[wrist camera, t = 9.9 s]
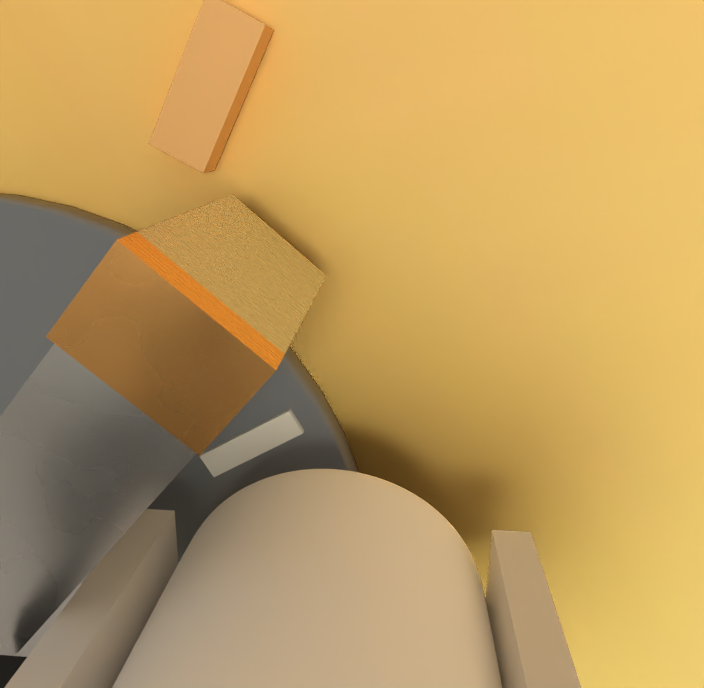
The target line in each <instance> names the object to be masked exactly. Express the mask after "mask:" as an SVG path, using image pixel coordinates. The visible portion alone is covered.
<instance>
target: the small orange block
mask: <svg viewBox="0 0 704 688" xmlns="http://www.w3.org/2000/svg"><path fill="white" fill-rule="evenodd" d="M273 31H274V30H272V29H271V28H269V27H268V26H267V25H265V24H263V23H262V22H260V21H258V20H256V19H254V18H253V17H251V16H249V15H247V14H245V13H244V12H242V11H240V10H238V9H236V8H235V7H233V6H231V5H229V4H227V3H225V2H224V1H222V0H204V1H203V3H202V6H201V8H200V11H199V14H198V16H197V19H196V22H195V24H194V27H193V29H192V32H191V35H190V37H189V40H188V42H187V45H186V48H185V50H184V53H183V55H182V58H181V61H180V63H179V66H178V69H177V71H176V74H175V76H174V79H173V82H172V84H171V87H170V89H169V92H168V95H167V97H166V100H165V102H164V105H163V108H162V110H161V113H160V115H159V118H158V121H157V123H156V126H155V129H154V131H153V134H152V136H151V139H150V142H149V145H151V146H153V147H155V148H157V149H159V150H161V151H163V152H165V153H166V154H168V155H170V156H172V157H174V158H176V159H178V160H180V161H182V162H184V163H185V164H187V165H189V166H191V167H193V168H195V169H197V170H199V171H201V172H203V173H205V172H209V171H214V170H215V168H216V166H217V163H218V161H219V159H220V156H221V154H222V151H223V149H224V147H225V144H226V142H227V140H228V137H229V135H230V133H231V130H232V128H233V125H234V123H235V121H236V118H237V116H238V114H239V111H240V109H241V107H242V104H243V102H244V100H245V97H246V95H247V92H248V90H249V88H250V85H251V83H252V81H253V78H254V76H255V74H256V71H257V69H258V67H259V64H260V62H261V59H262V57H263V55H264V52H265V50H266V48H267V45H268V43H269V41H270V38H271V36H272V33H273Z"/></svg>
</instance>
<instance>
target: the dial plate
mask: <svg viewBox="0 0 704 688" xmlns="http://www.w3.org/2000/svg"><path fill="white" fill-rule="evenodd" d="M135 232H137V231H135V230H133V229H131V228H129V227H127V226H125V225H123V224H120V223H117V222H114V221H112V220H109V219H106V218H103V217H100V216H97V215H95V214H92V213H89V212H86V211H83V210H81V209H78V208H75V207H72V206H67V205H63V204H58V203H53V202H49V201H44V200H40V199H35V198H30V197H26V196H21V195H11V194H0V416H1V415H2V413H3V412H4V411H5V409H6V408H7V407H8V405H9V404H10V403H11V401H12V400H13V398H14V397H15V396H16V394H17V393H18V392H19V390H20V389H21V388H22V386H23V385H24V384H25V382H26V381H27V380H28V378H29V377H30V375H31V374H32V373H33V371H34V370H35V369H36V367H37V366H38V365H39V363H40V362H41V361H42V359H43V358H44V357H45V355H46V354H47V353H48V351H49V350H50V348H51V347H52V346H53V344H54V343H53V342H52V341H51V340H49V339H48V338H47V337H46V336H47V334H48V333H49V331H50V330H51V329H52V327H53V326H54V325H55V323H56V322H57V321H58V319H59V318H60V316H61V315H62V314H63V312H64V311H65V310H66V308H67V307H68V305H69V304H70V303H71V301H72V300H73V299H74V297H75V296H76V295H77V293H78V292H79V290H80V289H81V288H82V286H83V285H84V284H85V282H86V281H87V280H88V278H89V277H90V275H91V274H92V273H93V271H94V270H95V269H96V267H97V266H98V264H99V263H100V262H101V260H102V259H103V258H104V256H105V255H106V254H107V252H108V251H109V249H110V248H111V247H112V245H113V244H114V243H115V241H116V240H117V239H120V238H122V237H125V236H127V235H130V234H132V233H135ZM306 469H338V470H347V471H353V472H358V469H357V466H356V464H355V461H354V458H353V456H352V453H351V450H350V447H349V445H348V442H347V439H346V437H345V434H344V432H343V430H342V428H341V426H340V424H339V423H338V421H337V419H336V417H335V415H334V413H333V411H332V409H331V407H330V406H329V404H328V402H327V400H326V398H325V396H324V394H323V392H322V391H321V390H320V388H319V387H318V385H317V384H316V383H315V381H314V380H313V378H312V377H311V376H310V374H309V373H308V371H307V370H306V368H305V367H304V366H303V364H302V363H301V361H300V360H299V359H298V357H297V356H296V354H295V353H294V352H293V351H292V349H291V348H290V347H288V349H287V351H286V353H285V355H284V357H283V359H282V360H281V362H280V364H279V366H278V368H277V370H276V371H275V372H274V373H273V375H272V376H271V377H270V378H269V379H268V380H267V381H266V382H265V383H264V385H263V386H262V387H261V388H260V389H259V390H258V391H257V392H256V394H255V395H254V396H253V397H252V398H251V399H250V400H249V401H248V402H247V404H246V405H245V406H244V407H243V408H242V409H241V410H240V411H239V412H238V414H237V415H236V416H235V417H234V418H233V419H232V420H231V421H230V422H229V424H228V425H227V426H226V427H225V428H224V429H223V430H222V431H221V432H220V434H219V435H218V436H217V437H216V438H215V439H214V440H213V441H212V443H211V444H210V445H209V446H208V447H207V448H206V449H205V450H204V451H203V453H202V454H201V455H200V456H199V455H198V454H195V455H194V456H193V457H192V459H191V460H190V461H189V462H188V463H187V464H186V465H185V466H184V467H183V469H182V470H181V471H180V472H179V473H178V474H177V475H176V476H175V478H174V479H173V480H172V481H171V482H170V483H169V484H168V485H167V487H166V488H165V489H164V490H163V491H162V492H161V493H160V494H159V495H158V497H157V498H156V499H155V500H154V501H153V502H152V503H151V504H150V506H149V507H148V508H147V509H156V510H173V511H175V523H176V538H177V552H178V563H179V561H180V560H181V558H182V556H183V554H184V552H185V551H186V549H187V547H188V545H189V544H190V542H191V540H192V538H193V537H194V535H195V534H196V532H197V531H198V529H199V528H200V526H201V525H202V524H203V522H204V521H205V520H206V518H207V517H208V516H209V515H210V514H211V513H212V512H213V511H214V510H215V509H216V508H217V507H218V506H219V505H220V504H221V503H222V502H224V501H225V500H226V499H228V498H229V497H230V496H232V495H233V494H235V493H236V492H238V491H239V490H241V489H243V488H245V487H247V486H249V485H251V484H253V483H255V482H257V481H260V480H262V479H265V478H268V477H271V476H274V475H278V474H282V473H286V472H291V471H297V470H306Z"/></svg>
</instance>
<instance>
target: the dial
mask: <svg viewBox="0 0 704 688" xmlns="http://www.w3.org/2000/svg"><path fill="white" fill-rule="evenodd" d="M326 276H327V275H325V274H324V273H323V272H322V271H321V270H320V269H318V268H317V267H316V266H315V265H314V264H313V263H311V262H310V261H309V260H308V259H307V258H306V257H304V256H303V255H302V254H301V253H300V252H299V251H298V250H296V249H295V248H294V247H293V246H292V245H291V244H289V243H288V242H287V241H286V240H285V239H284V238H282V237H281V236H280V235H279V234H278V233H277V232H275V231H274V230H273V229H272V228H271V227H270V226H269V225H267V224H266V223H265V222H264V221H263V220H262V219H260V218H259V217H258V216H257V215H256V214H255V213H253V212H252V211H251V210H250V209H249V208H248V207H246V206H245V205H244V204H243V203H242V202H241V201H240V200H238V199H237V198H236V197H235V196H234V195H233V194H232V195H229V196H227V197H224V198H222V199H219V200H217V201H214V202H211V203H209V204H206V205H204V206H201V207H199V208H196V209H194V210H191V211H189V212H186V213H183V214H181V215H178V216H176V217H173V218H171V219H168V220H166V221H163V222H160V223H158V224H155V225H153V226H150V227H148V228H145V229H143V230H140V231H138V232H135V233H132V234H130V235H127V236H125V237H122V238H120V239H117V240H116V241H115V243H114V244H113V245H112V247H111V248H110V249H109V251H108V252H107V254H106V255H105V256H104V258H103V259H102V260H101V262H100V263H99V264H98V266H97V267H96V269H95V270H94V271H93V273H92V274H91V275H90V277H89V278H88V280H87V281H86V282H85V284H84V285H83V286H82V288H81V289H80V290H79V292H78V293H77V295H76V296H75V297H74V299H73V300H72V301H71V303H70V304H69V305H68V307H67V308H66V310H65V311H64V312H63V314H62V315H61V316H60V318H59V319H58V321H57V322H56V323H55V325H54V326H53V327H52V329H51V330H50V331H49V333H48V334H47V336H46V337H47V338H48V339H49V340H51V341H52V342H53V343H54V344H53V346H52V347H51V348H50V350H49V351H48V353H47V354H46V355H45V357H44V358H43V359H42V361H41V362H40V363H39V365H38V366H37V367H36V369H35V370H34V371H33V373H32V374H31V375H30V377H29V378H28V380H27V381H26V382H25V384H24V385H23V386H22V388H21V389H20V390H19V392H18V393H17V394H16V396H15V397H14V398H13V400H12V401H11V403H10V404H9V405H8V407H7V408H6V409H5V411H4V412H3V413H2V415H1V416H0V655H9V656H22V657H28V655H29V654H30V653H31V651H32V650H33V649H34V647H35V646H36V645H37V643H38V642H39V641H40V639H41V638H42V637H43V635H44V634H45V633H46V631H47V630H48V629H49V627H50V626H51V625H52V623H53V622H54V621H55V619H56V618H57V617H58V615H59V614H60V613H61V611H62V610H63V609H64V607H65V606H66V605H67V603H68V602H69V601H70V599H71V598H72V597H73V595H74V594H75V593H76V591H77V590H78V589H79V587H80V586H81V585H82V583H83V582H84V581H85V579H86V578H87V577H88V575H89V574H90V573H91V571H92V570H93V569H94V567H95V566H96V565H97V564H98V563H99V561H100V560H101V559H102V558H103V557H104V556H105V555H106V554H107V553H108V551H109V550H110V549H111V548H112V547H113V546H114V545H115V544H116V542H117V541H118V540H119V539H120V538H121V537H122V536H123V535H124V533H125V532H126V531H127V530H128V529H129V528H130V527H131V526H132V525H133V523H134V522H135V521H136V520H137V519H138V518H139V517H140V516H141V514H142V513H143V512H144V511H145V510H146V509H147V508H148V507H149V506H150V504H151V503H152V502H153V501H154V500H155V499H156V498H157V497H158V495H159V494H160V493H161V492H162V491H163V490H164V489H165V488H166V487H167V485H168V484H169V483H170V482H171V481H172V480H173V479H174V478H175V476H176V475H177V474H178V473H179V472H180V471H181V470H182V469H183V467H184V466H185V465H186V464H187V463H188V462H189V461H190V460H191V459H192V457H193V456H194V455H195V454H198V455H199V456H200V455H201V454H202V453H203V451H204V450H205V449H206V448H207V447H208V446H209V445H210V444H211V443H212V441H213V440H214V439H215V438H216V437H217V436H218V435H219V434H220V432H221V431H222V430H223V429H224V428H225V427H226V426H227V425H228V424H229V422H230V421H231V420H232V419H233V418H234V417H235V416H236V415H237V414H238V412H239V411H240V410H241V409H242V408H243V407H244V406H245V405H246V404H247V402H248V401H249V400H250V399H251V398H252V397H253V396H254V395H255V394H256V392H257V391H258V390H259V389H260V388H261V387H262V386H263V385H264V383H265V382H266V381H267V380H268V379H269V378H270V377H271V376H272V375H273V373H274V372H275V371H276V370H277V368H278V366H279V364H280V362H281V360H282V359H283V357H284V355H285V353H286V351H287V349H288V347H289V345H290V344H291V342H292V340H293V338H294V336H295V334H296V332H297V330H298V328H299V327H300V325H301V323H302V321H303V319H304V317H305V315H306V313H307V312H308V310H309V308H310V306H311V304H312V302H313V300H314V298H315V296H316V295H317V293H318V291H319V289H320V287H321V285H322V283H323V281H324V280H325V278H326Z"/></svg>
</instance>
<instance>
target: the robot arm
mask: <svg viewBox="0 0 704 688" xmlns="http://www.w3.org/2000/svg"><path fill="white" fill-rule="evenodd" d="M177 565H178V552H177V538H176V523H175V511H173V510H156V509H146V510H145V511H144V512H143V513H142V514H141V516H140V517H139V518H138V519H137V520H136V521H135V522H134V523H133V525H132V526H131V527H130V528H129V529H128V530H127V531H126V532H125V533H124V535H123V536H122V537H121V538H120V539H119V540H118V541H117V542H116V544H115V545H114V546H113V547H112V548H111V549H110V550H109V551H108V553H107V554H106V555H105V556H104V557H103V558H102V559H101V560H100V561H99V563H98V564H97V565H96V566H95V567H94V569H93V570H92V571H91V573H90V574H89V575H88V577H87V578H86V579H85V581H84V582H83V583H82V585H81V586H80V587H79V589H78V590H77V591H76V593H75V594H74V595H73V597H72V598H71V599H70V601H69V602H68V603H67V605H66V606H65V607H64V609H63V610H62V611H61V613H60V614H59V615H58V617H57V618H56V619H55V621H54V622H53V623H52V625H51V626H50V627H49V629H48V630H47V631H46V633H45V634H44V635H43V637H42V638H41V639H40V641H39V642H38V643H37V645H36V646H35V647H34V649H33V650H32V651H31V653H30V654H29V655H28V657H22V656H9V655H0V688H112V687H113V685H114V683H115V681H116V679H117V677H118V675H119V674H120V672H121V670H122V668H123V666H124V664H125V662H126V660H127V659H128V657H129V655H130V653H131V651H132V649H133V647H134V645H135V643H136V642H137V640H138V638H139V636H140V634H141V632H142V630H143V628H144V627H145V625H146V623H147V621H148V619H149V617H150V615H151V613H152V612H153V610H154V608H155V606H156V604H157V602H158V600H159V598H160V597H161V595H162V593H163V591H164V589H165V587H166V585H167V584H168V582H169V580H170V578H171V576H172V574H173V573H174V571H175V569H176V567H177ZM486 605H487V610H488V615H489V620H490V625H491V630H492V635H493V640H494V645H495V650H496V656H497V661H498V666H499V671H500V676H501V682H502V687H503V688H581V685H580V682H579V679H578V676H577V673H576V670H575V667H574V664H573V661H572V658H571V654H570V651H569V648H568V645H567V642H566V639H565V636H564V633H563V630H562V627H561V624H560V621H559V617H558V614H557V611H556V608H555V605H554V602H553V599H552V596H551V593H550V590H549V587H548V584H547V581H546V577H545V574H544V571H543V568H542V565H541V562H540V559H539V556H538V553H537V550H536V547H535V544H534V540H533V537H532V534H531V532H523V531H506V530H492V534H491V545H490V556H489V567H488V578H487V589H486Z"/></svg>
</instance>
